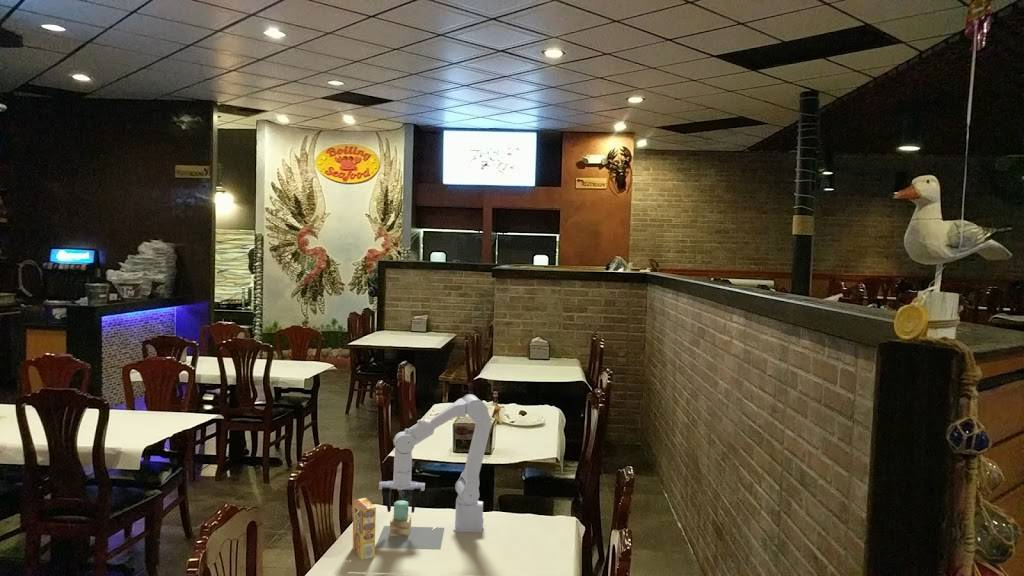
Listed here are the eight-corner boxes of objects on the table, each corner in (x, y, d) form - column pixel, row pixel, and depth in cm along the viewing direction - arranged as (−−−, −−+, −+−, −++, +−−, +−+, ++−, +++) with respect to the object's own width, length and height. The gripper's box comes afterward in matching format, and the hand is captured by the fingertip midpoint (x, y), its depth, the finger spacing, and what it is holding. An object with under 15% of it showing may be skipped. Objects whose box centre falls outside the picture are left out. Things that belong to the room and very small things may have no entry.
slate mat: (444, 528, 211) (444, 527, 211) (440, 550, 195) (440, 549, 195) (384, 526, 211) (384, 525, 211) (375, 548, 195) (375, 547, 195)
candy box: (375, 557, 189) (377, 507, 188) (361, 561, 186) (363, 509, 186) (364, 546, 196) (366, 497, 195) (351, 549, 194) (352, 499, 193)
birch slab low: (410, 528, 209) (411, 521, 209) (408, 536, 203) (408, 529, 203) (392, 528, 209) (392, 521, 209) (389, 535, 203) (389, 528, 203)
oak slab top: (411, 521, 209) (411, 514, 209) (408, 529, 203) (408, 522, 203) (392, 521, 209) (393, 514, 209) (389, 528, 203) (390, 521, 203)
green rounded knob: (408, 515, 208) (409, 500, 208) (407, 521, 204) (407, 506, 204) (394, 515, 208) (395, 500, 208) (392, 521, 204) (393, 505, 203)
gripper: (377, 473, 201) (376, 515, 202) (423, 474, 202) (422, 516, 202) (381, 466, 208) (380, 506, 209) (426, 467, 209) (424, 508, 209)
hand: (401, 511), depth 206 cm, fingers open, 7 cm apart
